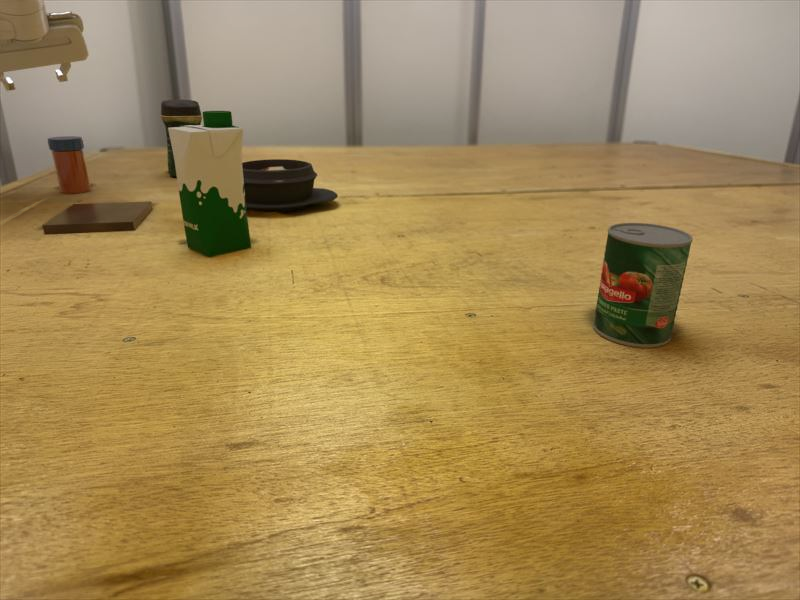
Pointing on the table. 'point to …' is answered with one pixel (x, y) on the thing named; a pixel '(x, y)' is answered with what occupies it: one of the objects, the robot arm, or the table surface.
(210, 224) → the milk carton
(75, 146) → the lid
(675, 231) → the canned tomato
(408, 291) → the table surface
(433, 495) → the table surface
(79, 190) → the honey jar
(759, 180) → the table surface
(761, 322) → the table surface
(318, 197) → the casserole
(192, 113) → the coffee jar
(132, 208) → the board
